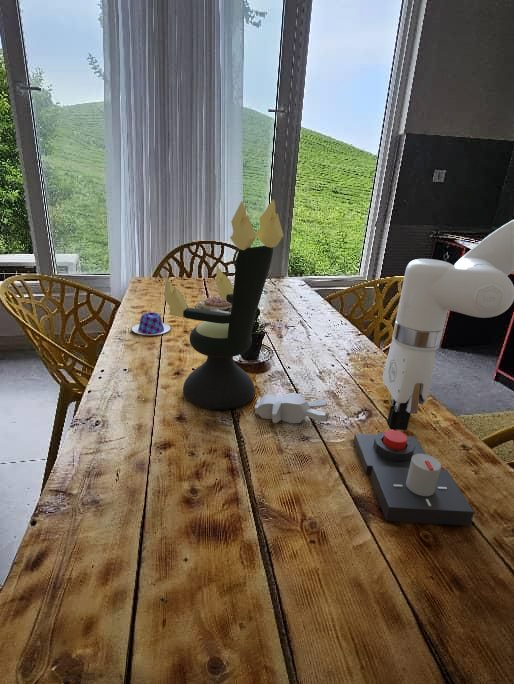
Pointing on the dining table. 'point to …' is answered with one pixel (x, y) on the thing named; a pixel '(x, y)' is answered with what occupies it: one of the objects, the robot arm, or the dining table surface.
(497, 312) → the robot arm
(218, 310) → the decorative turtle
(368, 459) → the switch block
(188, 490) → the dining table surface
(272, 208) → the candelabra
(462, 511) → the knob control plate
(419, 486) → the dial
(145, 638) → the dining table surface
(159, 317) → the pudding
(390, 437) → the power button
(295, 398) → the bunny figurine
